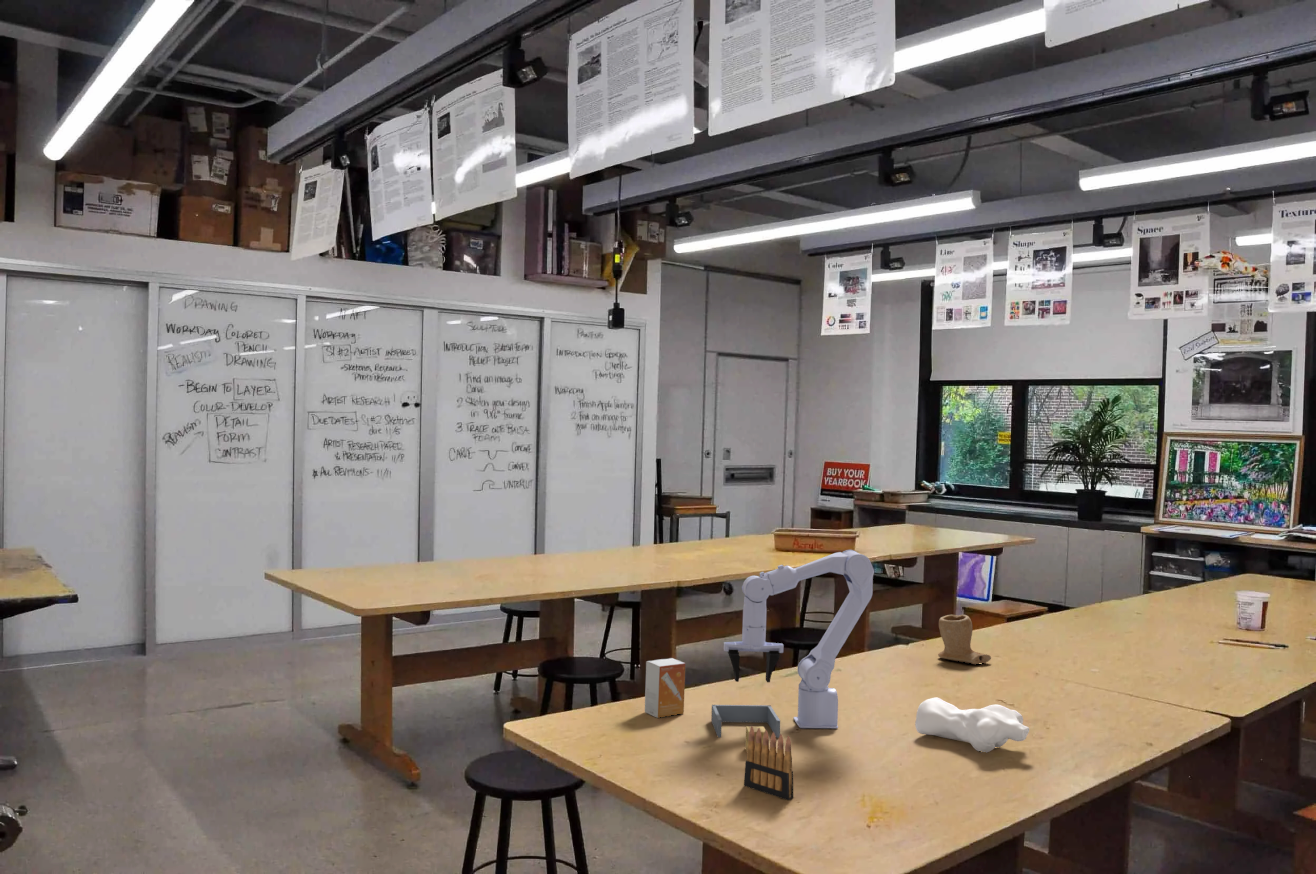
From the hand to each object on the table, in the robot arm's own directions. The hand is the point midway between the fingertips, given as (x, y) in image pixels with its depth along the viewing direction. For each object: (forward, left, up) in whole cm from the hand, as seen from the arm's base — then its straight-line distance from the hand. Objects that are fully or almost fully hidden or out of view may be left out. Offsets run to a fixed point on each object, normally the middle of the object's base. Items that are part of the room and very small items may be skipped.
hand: (752, 681), depth 234 cm
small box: (+21, -8, -11) cm, 25 cm away
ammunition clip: (+4, +45, -11) cm, 46 cm away
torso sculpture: (-50, +16, -11) cm, 53 cm away
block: (+2, +21, -11) cm, 23 cm away
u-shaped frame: (+2, +5, -10) cm, 12 cm away
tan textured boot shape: (-79, -69, -11) cm, 106 cm away
